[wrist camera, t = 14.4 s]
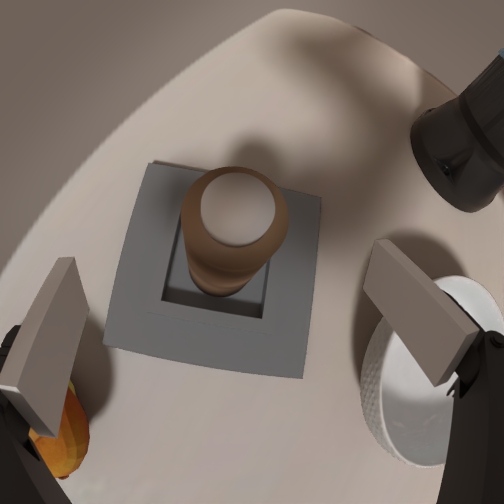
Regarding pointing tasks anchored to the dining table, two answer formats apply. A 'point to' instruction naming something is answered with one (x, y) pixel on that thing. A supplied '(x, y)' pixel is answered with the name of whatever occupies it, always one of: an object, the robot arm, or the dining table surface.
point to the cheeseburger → (65, 439)
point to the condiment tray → (205, 306)
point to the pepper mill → (231, 228)
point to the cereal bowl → (416, 384)
